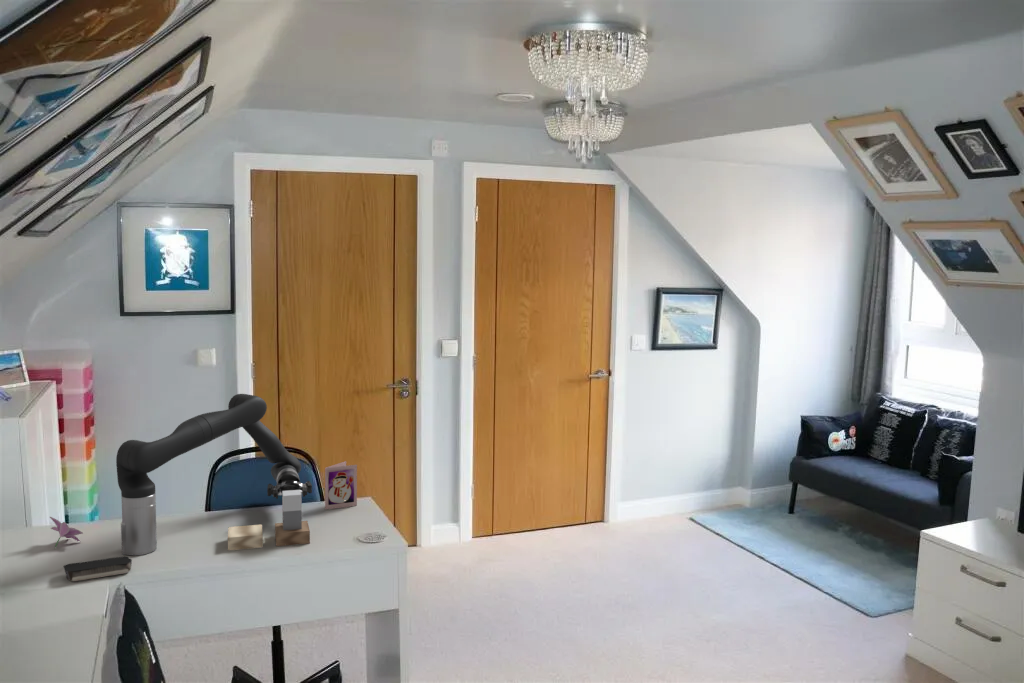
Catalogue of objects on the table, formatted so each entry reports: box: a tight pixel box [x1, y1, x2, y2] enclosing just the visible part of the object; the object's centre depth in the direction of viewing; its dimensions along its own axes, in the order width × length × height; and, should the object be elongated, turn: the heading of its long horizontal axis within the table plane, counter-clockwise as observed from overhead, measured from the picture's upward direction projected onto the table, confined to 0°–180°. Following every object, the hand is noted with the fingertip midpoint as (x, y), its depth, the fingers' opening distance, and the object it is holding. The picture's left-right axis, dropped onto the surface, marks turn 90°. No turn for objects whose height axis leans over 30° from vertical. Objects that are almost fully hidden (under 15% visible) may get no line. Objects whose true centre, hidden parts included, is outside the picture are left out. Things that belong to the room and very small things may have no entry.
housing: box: [281, 490, 303, 530], centre depth 252 cm, size 6×6×11 cm
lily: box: [49, 516, 84, 548], centre depth 243 cm, size 11×11×9 cm
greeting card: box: [324, 460, 358, 510], centre depth 288 cm, size 11×7×15 cm, turn 118°
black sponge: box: [62, 555, 133, 582], centre depth 222 cm, size 16×8×4 cm, turn 119°
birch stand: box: [227, 524, 264, 551], centre depth 248 cm, size 10×10×4 cm
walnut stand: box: [274, 520, 311, 547], centre depth 253 cm, size 10×10×4 cm
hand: (290, 494), depth 261 cm, fingers open, 8 cm apart
